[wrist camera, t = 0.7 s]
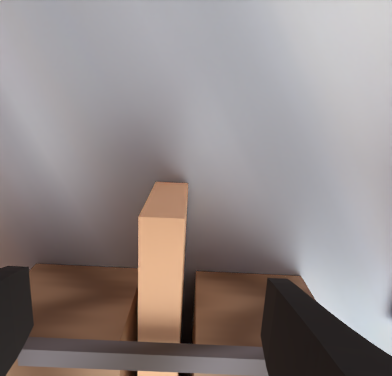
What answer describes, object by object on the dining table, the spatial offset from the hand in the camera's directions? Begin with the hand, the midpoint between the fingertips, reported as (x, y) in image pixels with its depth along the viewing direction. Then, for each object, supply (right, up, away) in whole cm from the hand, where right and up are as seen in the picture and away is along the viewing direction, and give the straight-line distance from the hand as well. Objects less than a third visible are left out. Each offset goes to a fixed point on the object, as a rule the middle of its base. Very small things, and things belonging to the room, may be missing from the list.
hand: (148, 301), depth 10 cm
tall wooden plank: (0, -2, +10) cm, 10 cm away
